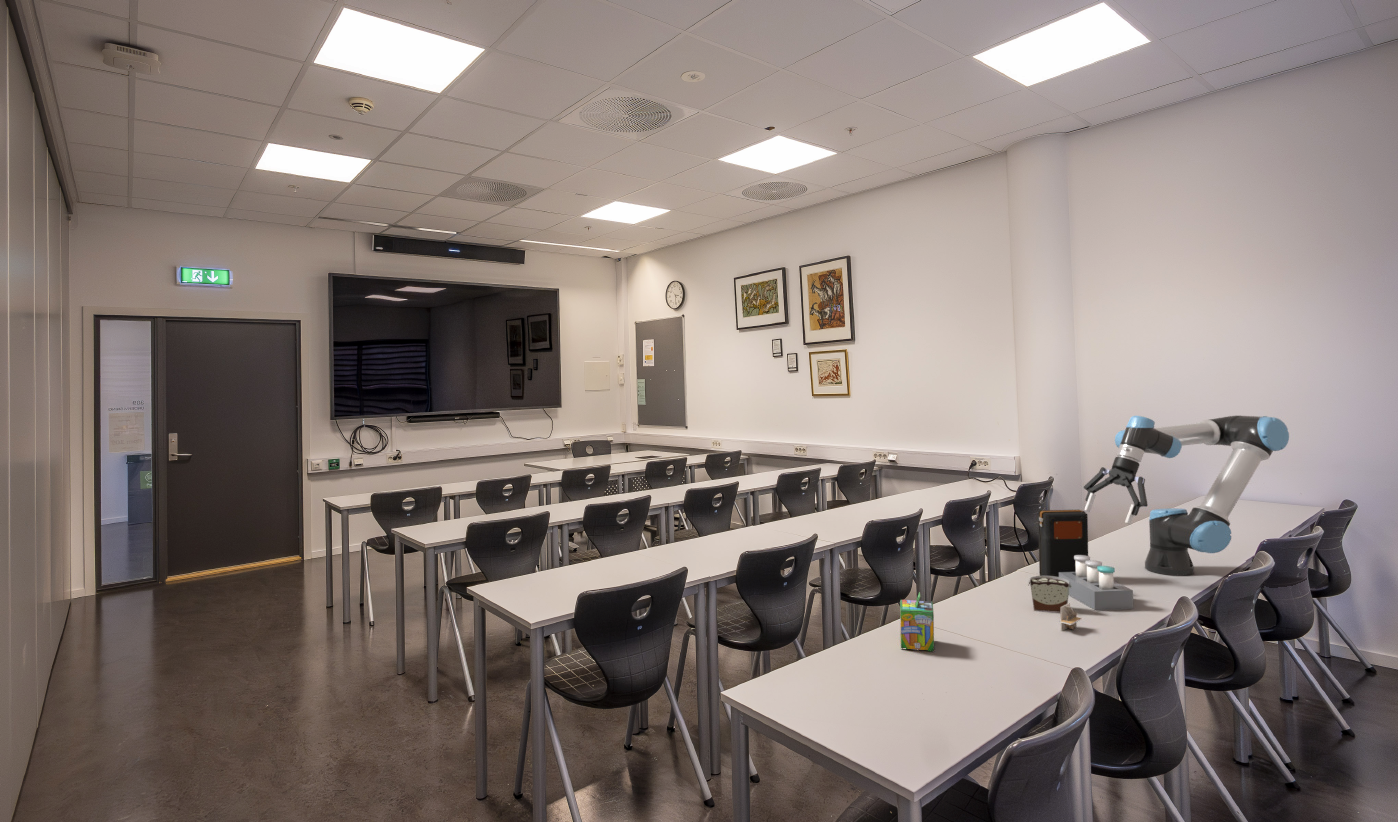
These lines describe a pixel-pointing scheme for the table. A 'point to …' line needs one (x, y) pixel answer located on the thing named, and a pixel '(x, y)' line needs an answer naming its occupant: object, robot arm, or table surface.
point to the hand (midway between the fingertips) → (1106, 517)
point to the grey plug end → (1081, 565)
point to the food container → (1049, 593)
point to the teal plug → (1106, 577)
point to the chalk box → (917, 624)
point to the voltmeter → (1061, 540)
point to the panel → (1098, 593)
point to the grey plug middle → (1092, 571)
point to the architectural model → (1068, 617)
